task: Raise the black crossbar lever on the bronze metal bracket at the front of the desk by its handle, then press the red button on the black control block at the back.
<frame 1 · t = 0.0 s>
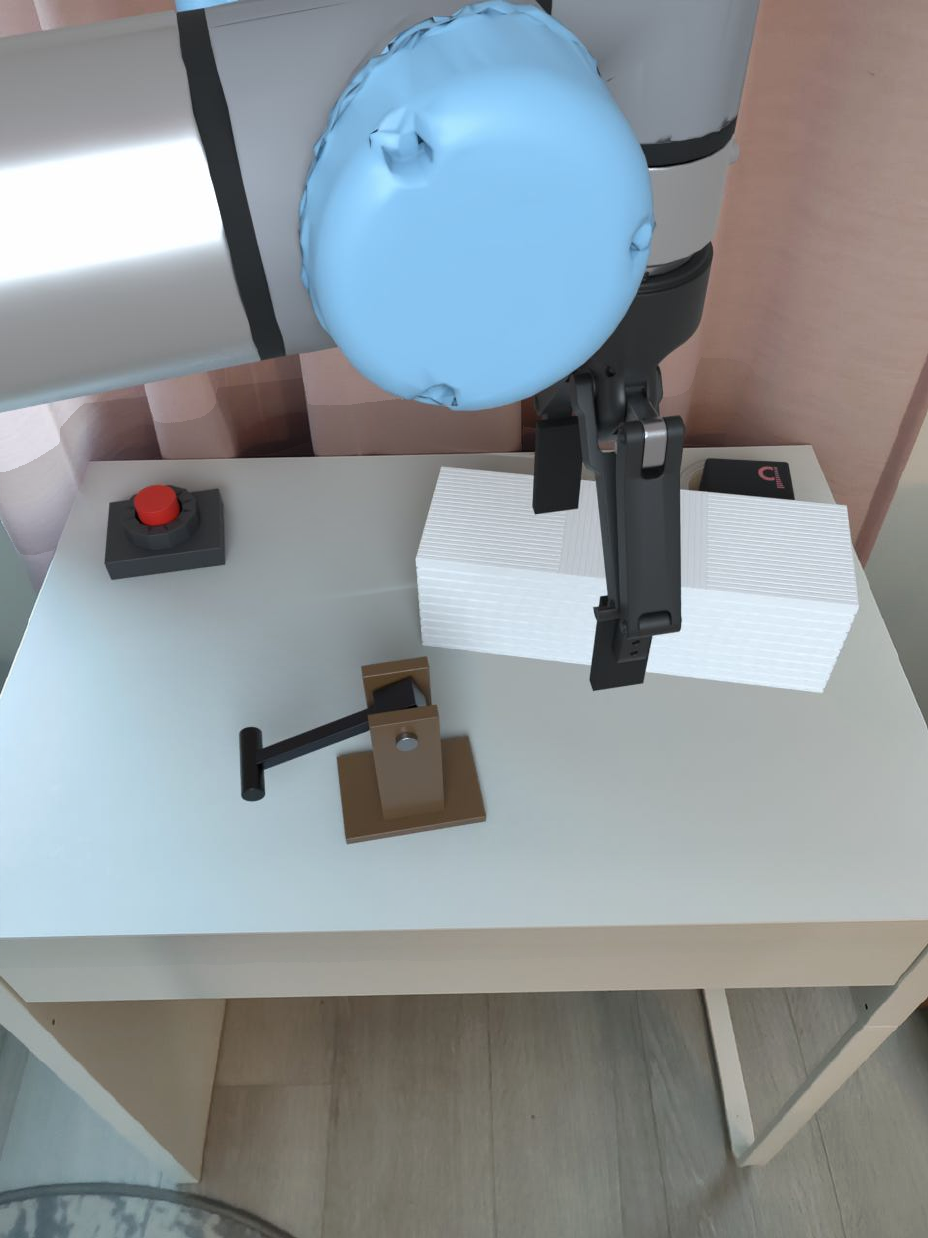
hand: (583, 588, 56), 22 cm above the table, tool pointing down, fingers open, 13 cm apart
lever: (329, 734, 66), point 9 cm above the table, hinge at -20.0°
stack of papers: (620, 625, 84), on the table
bracket: (410, 795, 73), on the table
control block: (169, 541, 91), on the table
electronic device: (741, 542, 90), on the table
button: (157, 505, 88), point 4 cm above the table, slide at 0.1 cm
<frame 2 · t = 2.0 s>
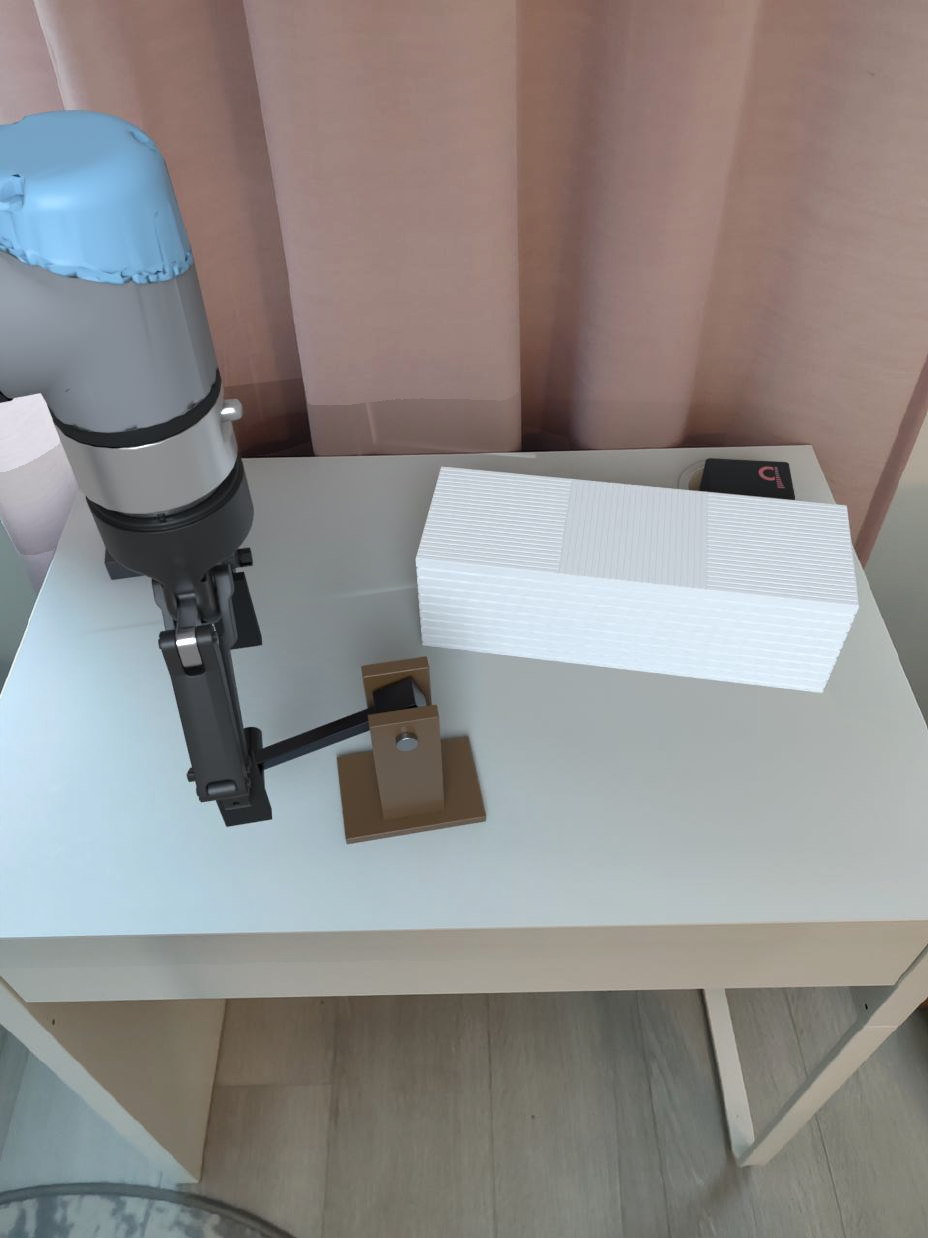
hand: (245, 725, 64), 12 cm above the table, tool pointing down, fingers open, 13 cm apart
nothing on the table moved.
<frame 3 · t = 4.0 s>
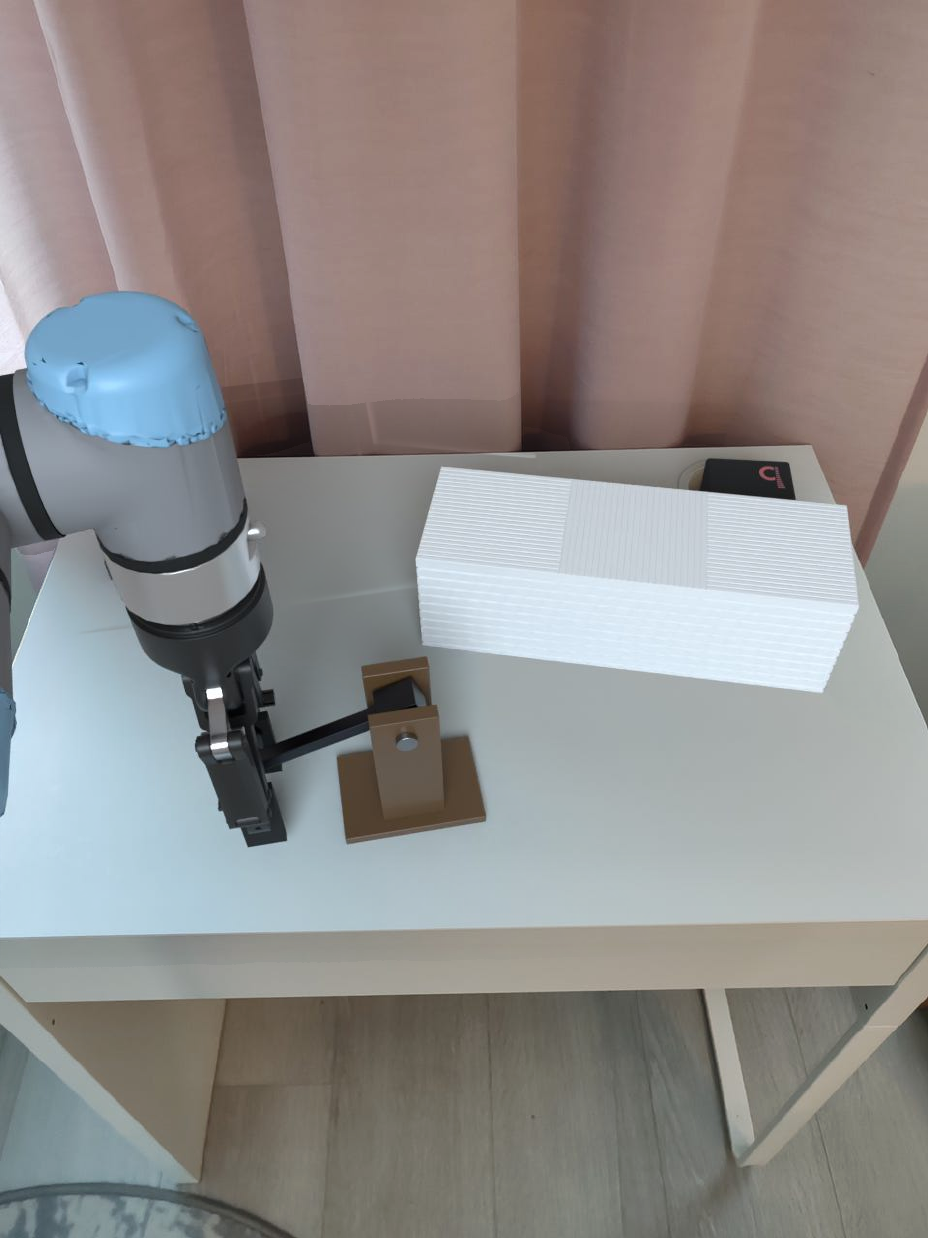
hand: (265, 803, 71), 2 cm above the table, tool pointing down, fingers closed on lever, 5 cm apart
lever: (329, 734, 66), point 9 cm above the table, hinge at -20.0°, touching gripper
everything else where it was.
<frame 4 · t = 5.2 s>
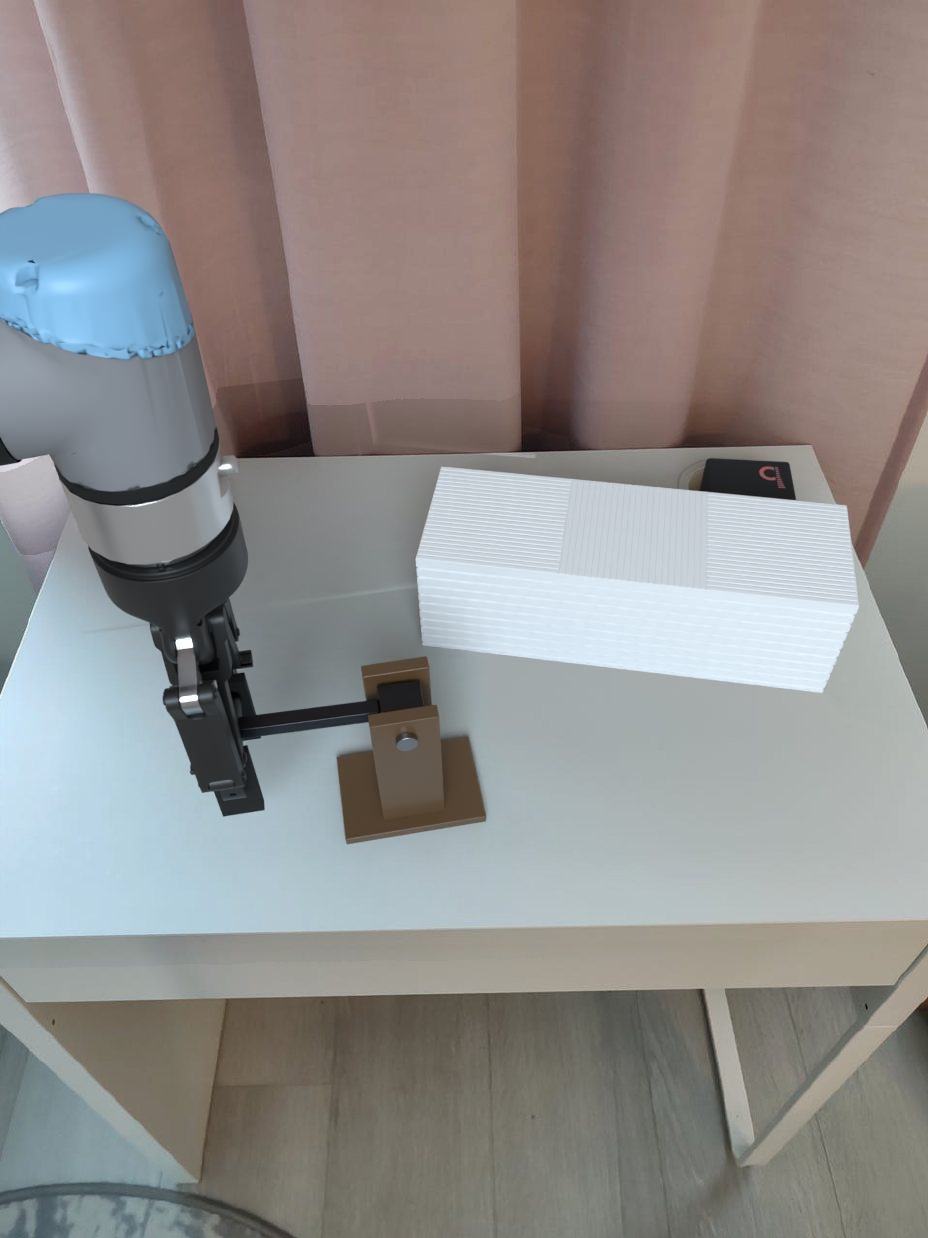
hand: (242, 771, 67), 7 cm above the table, tool pointing down, fingers closed on lever, 5 cm apart
lever: (321, 717, 64), point 11 cm above the table, hinge at 2.3°, touching gripper
everything else where it was.
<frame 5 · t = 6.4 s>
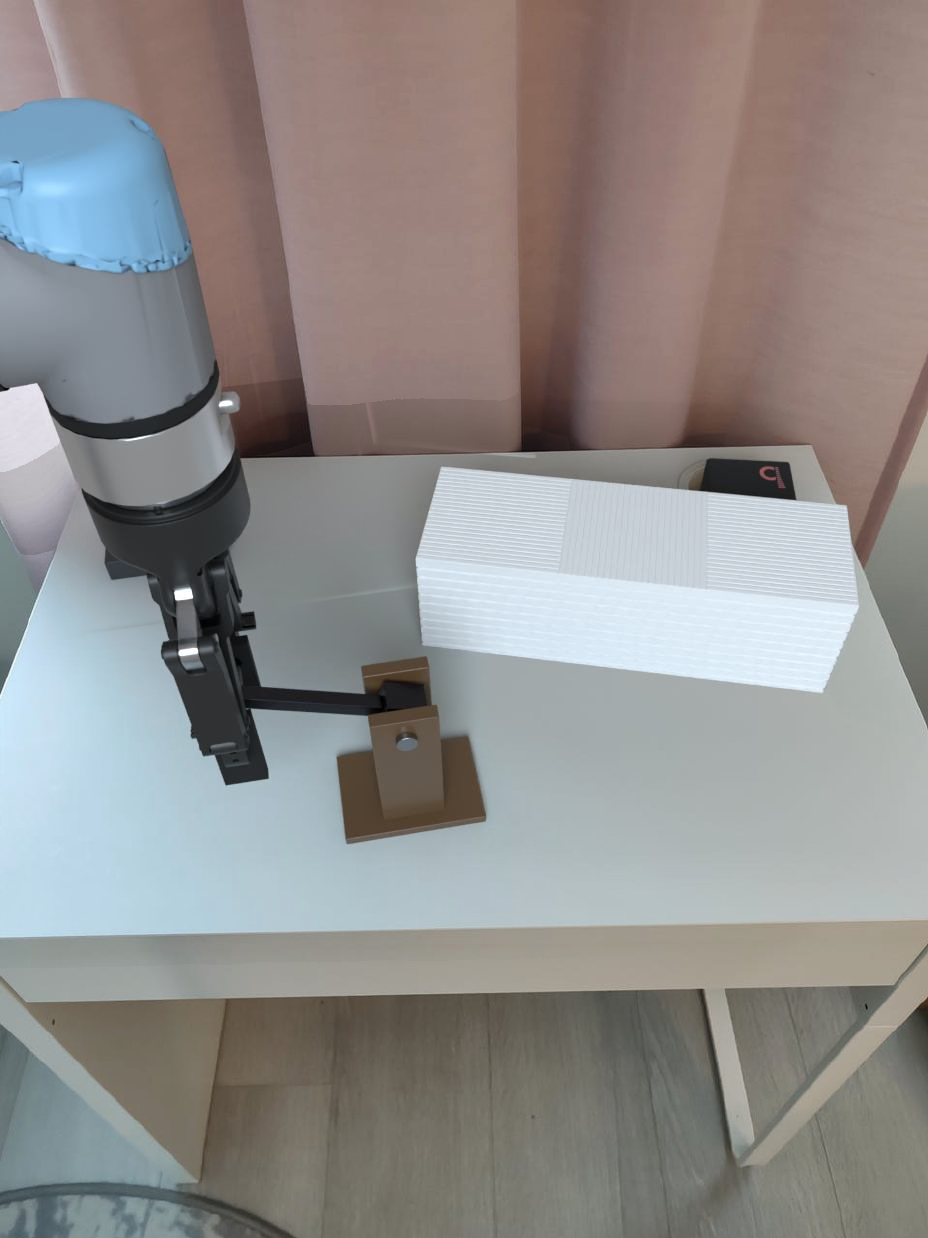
hand: (245, 739, 65), 10 cm above the table, tool pointing down, fingers open, 5 cm apart
lever: (323, 702, 63), point 13 cm above the table, hinge at 20.3°
everything else where it was.
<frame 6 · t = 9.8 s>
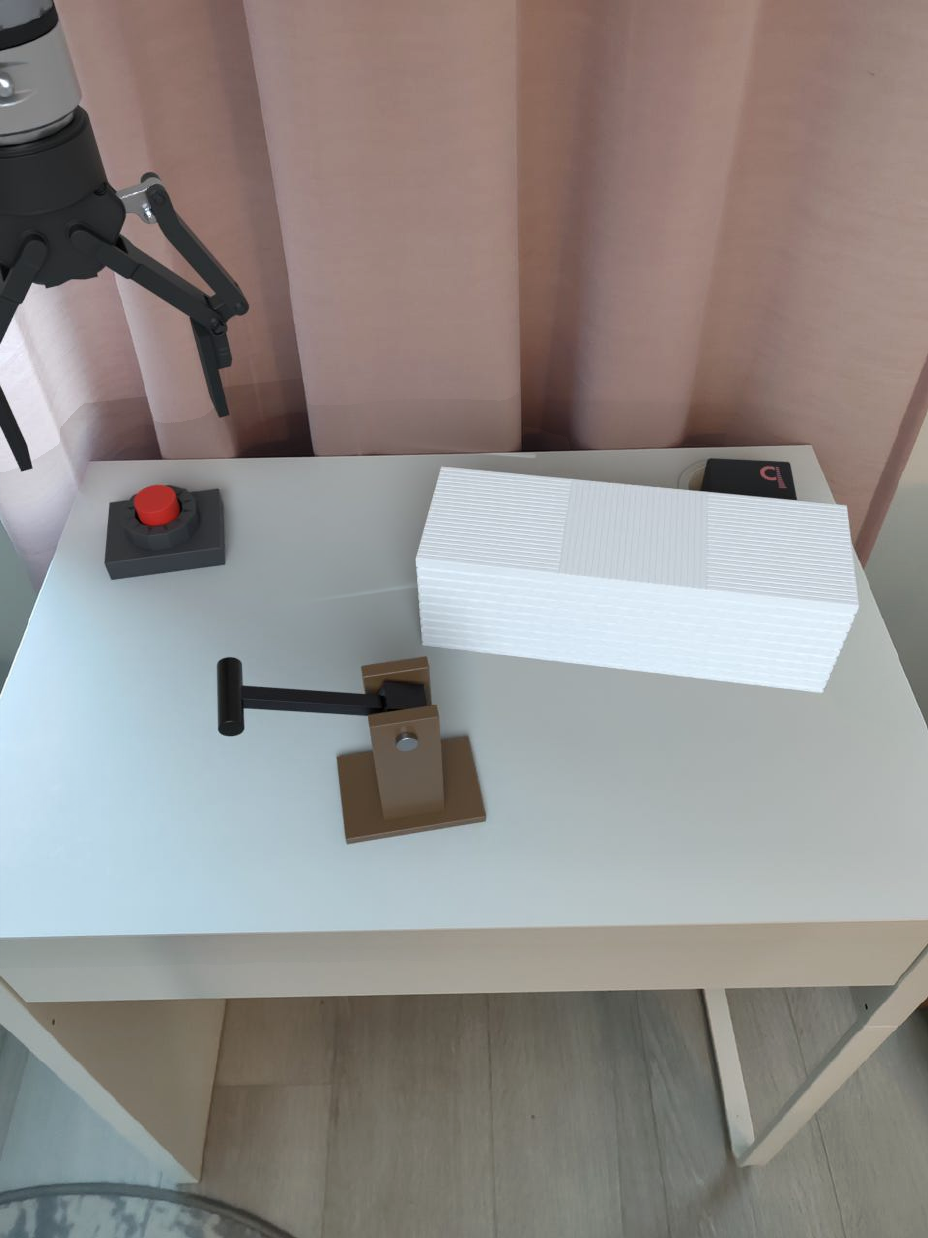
hand: (124, 431, 69), 20 cm above the table, tool pointing down, fingers open, 13 cm apart
nothing on the table moved.
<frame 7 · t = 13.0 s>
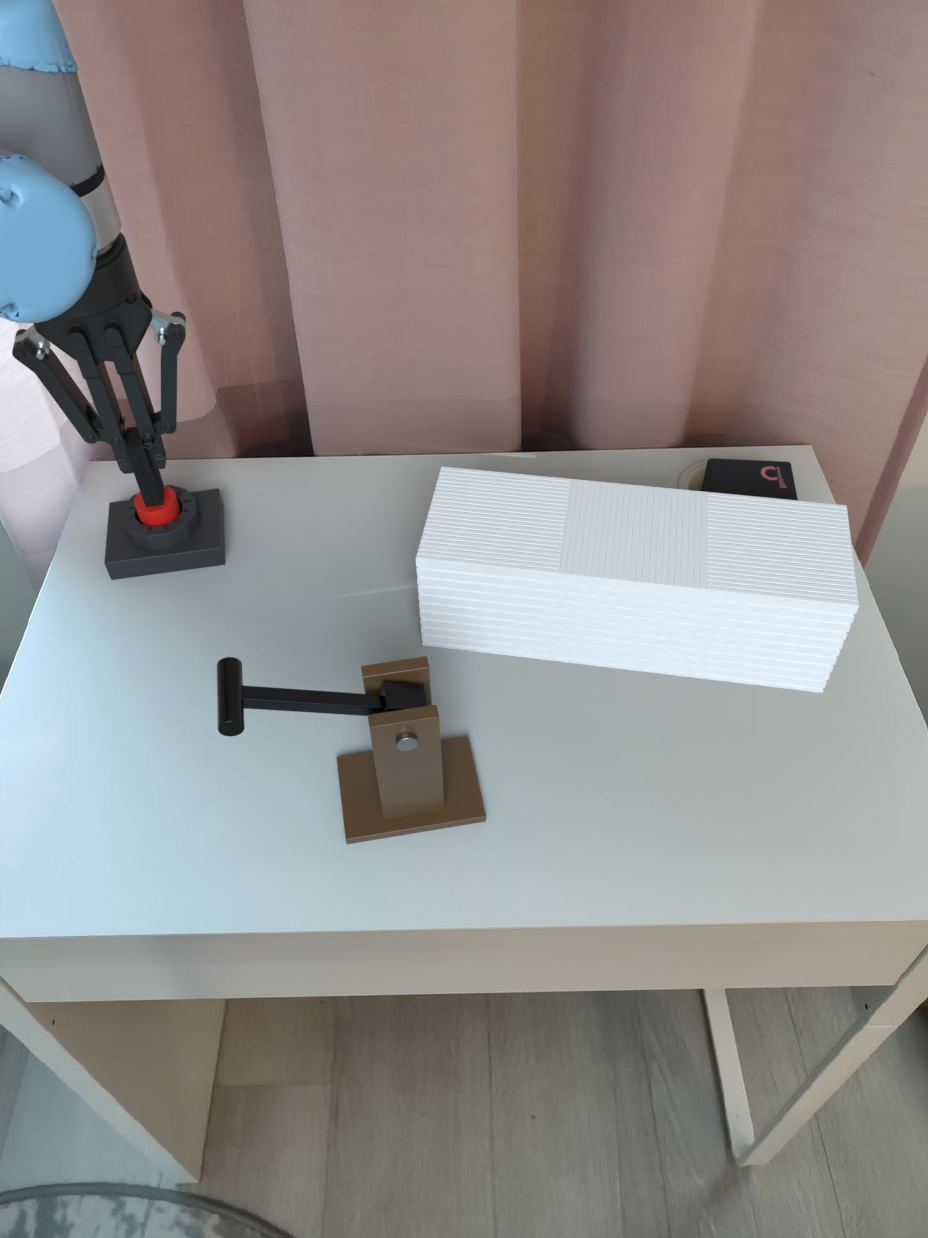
hand: (154, 495, 87), 6 cm above the table, tool pointing down, fingers closed
button: (157, 505, 88), point 4 cm above the table, slide at 0.1 cm, touching gripper
everything else where it was.
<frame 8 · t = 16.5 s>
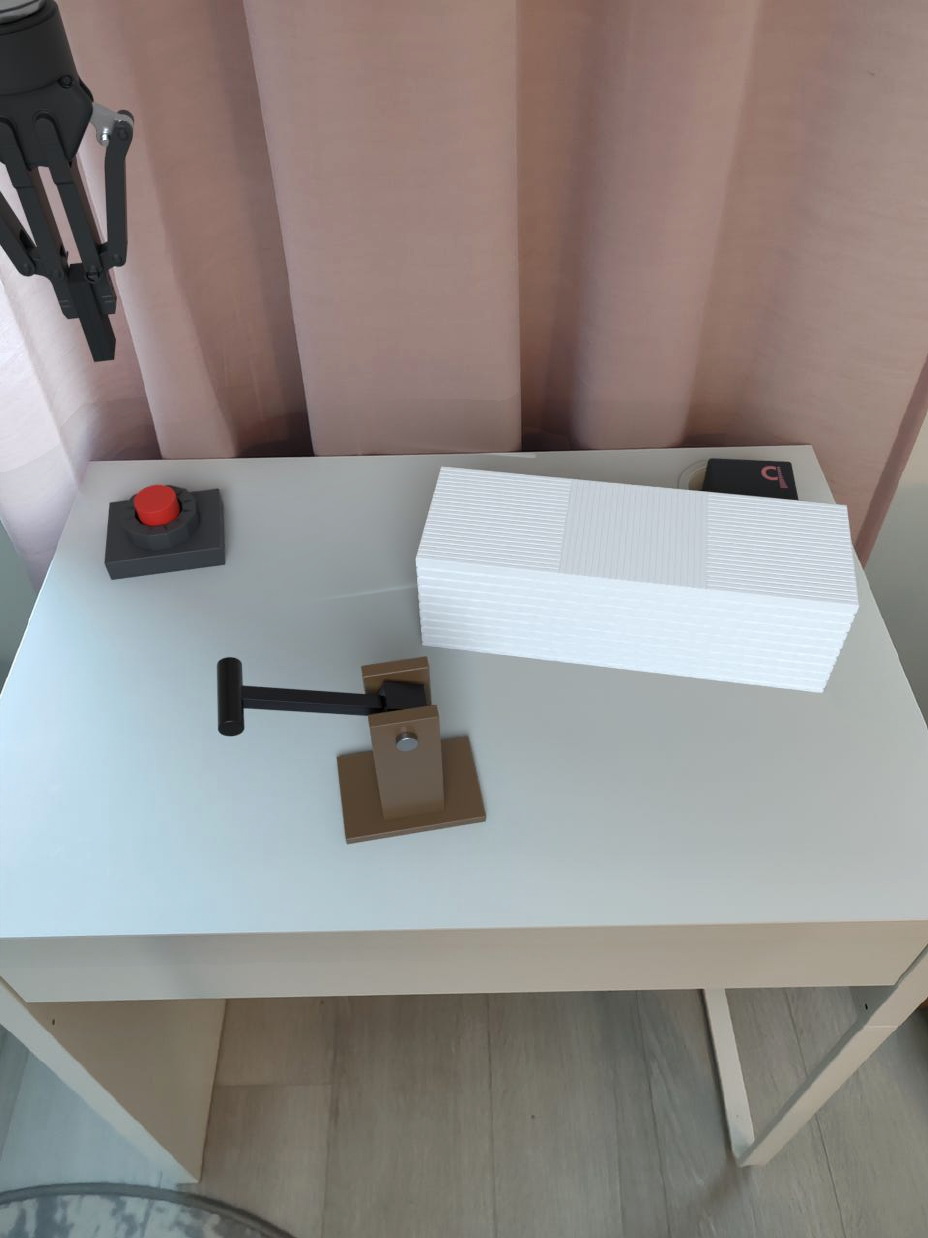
hand: (105, 350, 76), 20 cm above the table, tool pointing down, fingers closed
button: (157, 505, 88), point 4 cm above the table, slide at 0.1 cm
everything else where it was.
at the end: lever at +20° (first picture: -20°); button pushed in 1.0 cm at the most during the clip, back to where it started at the end; button slide at 0.1 cm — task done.
